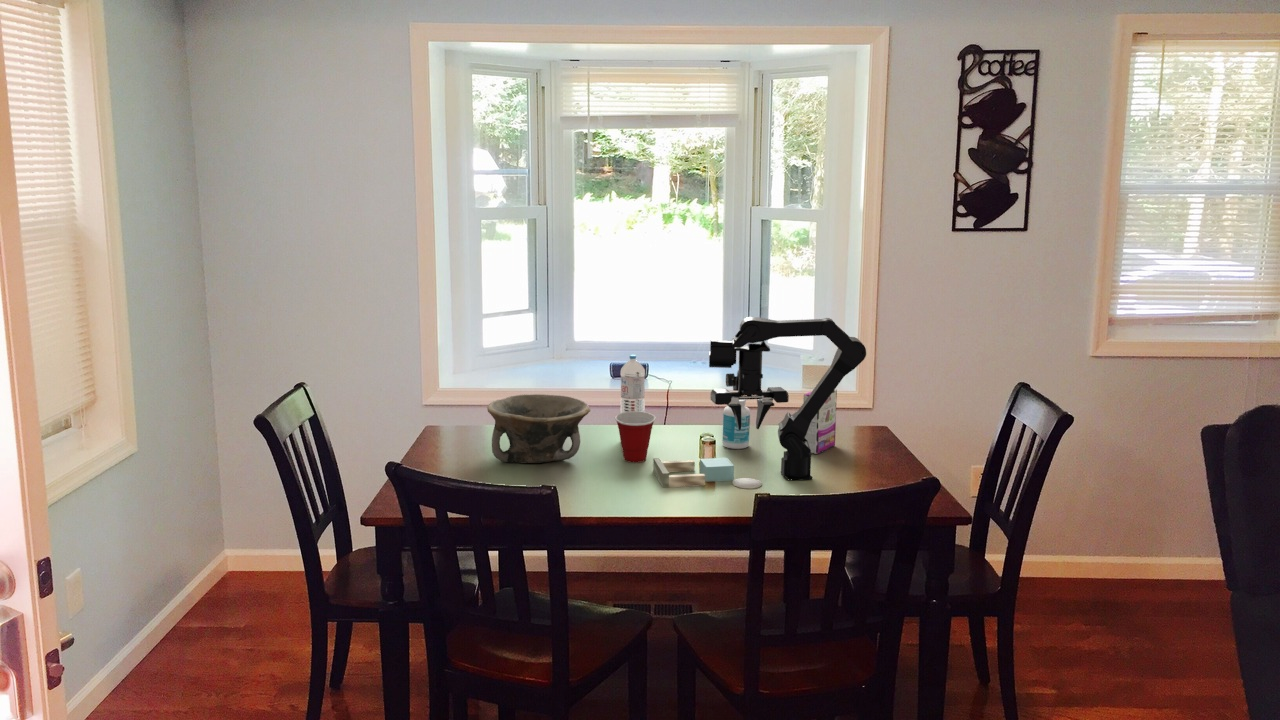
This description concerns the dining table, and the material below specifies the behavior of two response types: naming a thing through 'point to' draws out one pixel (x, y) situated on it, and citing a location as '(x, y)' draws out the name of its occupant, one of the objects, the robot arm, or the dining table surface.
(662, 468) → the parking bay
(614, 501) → the dining table surface
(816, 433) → the candy bar box
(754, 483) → the pad
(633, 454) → the plastic cup
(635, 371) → the water bottle
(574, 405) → the bowl
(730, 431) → the pill bottle
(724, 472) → the block
